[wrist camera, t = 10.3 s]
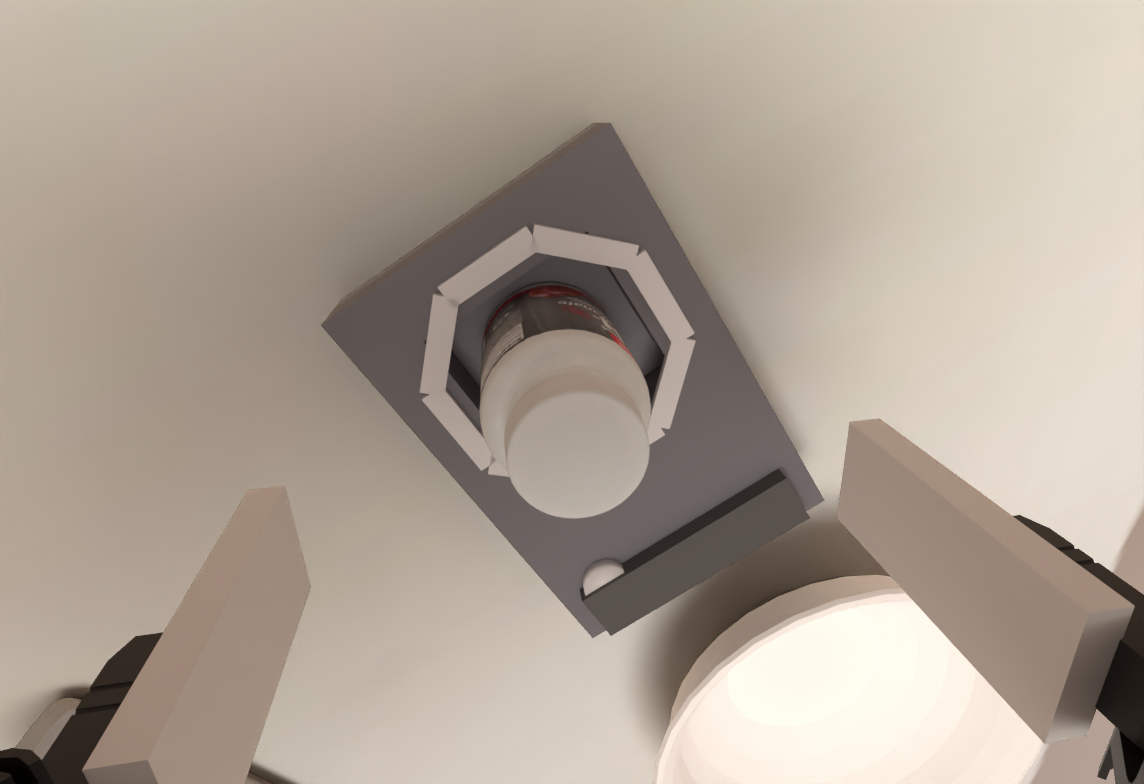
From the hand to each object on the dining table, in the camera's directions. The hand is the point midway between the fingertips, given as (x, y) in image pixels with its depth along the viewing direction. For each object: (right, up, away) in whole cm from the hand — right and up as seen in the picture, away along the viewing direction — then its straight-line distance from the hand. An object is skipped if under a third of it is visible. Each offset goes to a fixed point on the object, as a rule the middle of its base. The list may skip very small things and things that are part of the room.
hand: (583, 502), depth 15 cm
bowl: (+12, -12, +22) cm, 28 cm away
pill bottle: (-1, +5, +11) cm, 13 cm away
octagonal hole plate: (0, +3, +13) cm, 14 cm away
